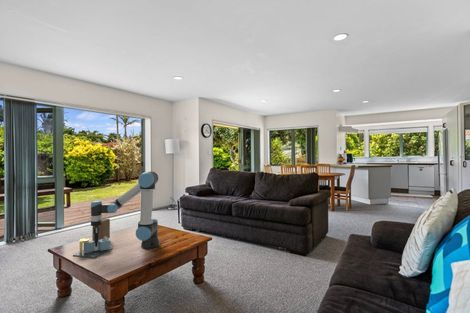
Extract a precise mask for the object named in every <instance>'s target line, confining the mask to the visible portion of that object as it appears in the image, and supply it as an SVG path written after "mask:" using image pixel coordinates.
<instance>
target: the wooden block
mask: <svg viewBox="0 0 470 313" xmlns="http://www.w3.org/2000/svg"><path fill="white" fill-rule="evenodd" d="M110 226H111V219H110V218H102V219H101V225H100V226H98V227H99V233H98V239H99V240H100V239H104V237H107V238H111V235H110V234H111V233H110V232H111V231H110V230H111V227H110ZM93 228H94V226H92V231H91V232H92V233H91V234H92V239H91V240H92V241H94V230H93Z"/></svg>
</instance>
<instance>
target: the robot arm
mask: <svg viewBox="0 0 470 313" xmlns="http://www.w3.org/2000/svg"><path fill="white" fill-rule="evenodd" d="M137 182H138V183H136V184H135V185H134V186H132V188H129V190H127V191H126V192H124V193H122V195H120V196H119V197H118V198H116V199H115V200H114V201H111V202H109V203H102V201H101V200H93V201H91V203H90V217H89V219H90V227H92V230H94V242H93V243H94V251H96V250H98V240H99V239H98V233H99V227H98V226H100V225H101V219H102V215H103V214H115V213H117V211H118V210H120V209H121V208H122V207H123V206H124V205H126V204H127V203H128V202H130V201H131V200H132V199H134V198H135V197H136V196H139V194H141V195H140V196H141V198H140V199H141V201H140V216H139V220H138V223H137V228H136V230H135V236H136V238H137V239H138V240H139V241H141V243H140V247H141V249H145V250H151V249H155V248H158V247H160V244H161V243H160V238H159V234H158V232H159V231H158V228H159V226H158V224H159V221H158V219H157V218H153V217H152V216H153V214H152V212H153V198H154V195H153V193H154V190H156V184H157V183H158V182H159V176H158V174H157V173H156V172H155V171H152V170H151V171H146V172H142V173H141V174H140V175H139V177H138V179H137ZM93 226H94V228H93Z"/></svg>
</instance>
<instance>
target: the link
mask: <svg viewBox="0 0 470 313" xmlns="http://www.w3.org/2000/svg"><path fill="white" fill-rule="evenodd" d="M110 238H111V237H110ZM110 238H107V241H104V239H100V240H98V250H100V251H102V250H108V249H110V248H111V239H110ZM93 242H94V241H89V242H85V243H83V250H84V252H90V251H94V243H93ZM96 251H97V250H96Z"/></svg>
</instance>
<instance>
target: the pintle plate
mask: <svg viewBox="0 0 470 313" xmlns="http://www.w3.org/2000/svg"><path fill="white" fill-rule="evenodd" d="M104 241H107V237H104ZM85 242H90V239H89V237H86V238H80V239H79V251H78V252H76V253H73V254H72V257H79V258H87V259H96V258H98V257H100V256H101V255H104V254H106V253H108V252H110V251H112V250H113V247H110V249H108V250H102V251H100V250H97V251H90V252H84V249H83V244H84V243H85Z"/></svg>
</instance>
